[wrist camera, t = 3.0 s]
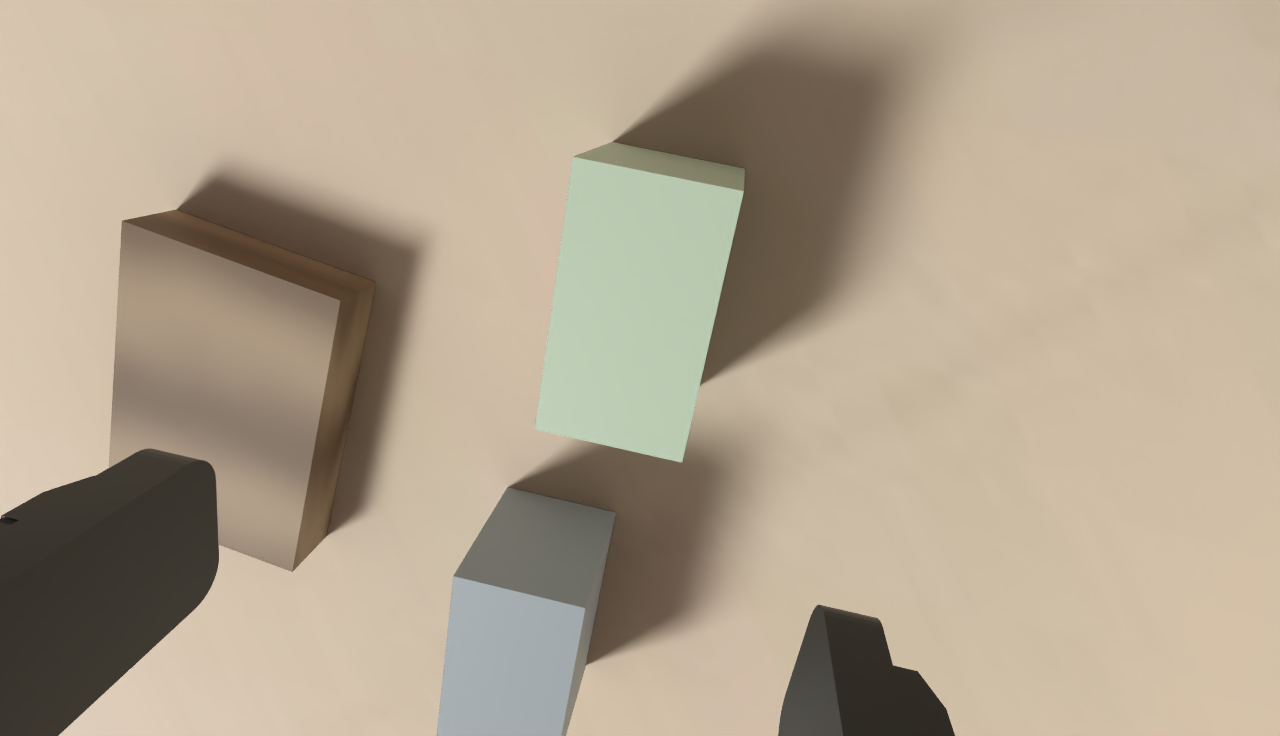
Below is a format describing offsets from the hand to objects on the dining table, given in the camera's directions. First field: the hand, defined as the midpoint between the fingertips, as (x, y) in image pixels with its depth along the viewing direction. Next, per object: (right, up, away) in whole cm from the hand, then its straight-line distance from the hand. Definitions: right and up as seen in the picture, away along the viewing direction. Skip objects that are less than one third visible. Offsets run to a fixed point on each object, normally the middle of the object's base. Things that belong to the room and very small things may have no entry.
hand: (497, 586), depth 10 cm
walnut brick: (-14, +2, +21) cm, 25 cm away
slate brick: (-2, -6, +22) cm, 23 cm away
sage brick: (+2, +6, +16) cm, 18 cm away
